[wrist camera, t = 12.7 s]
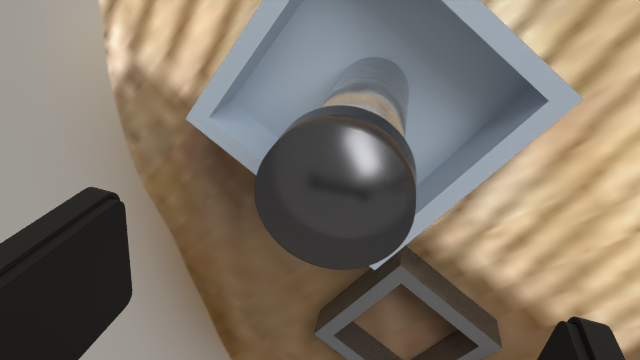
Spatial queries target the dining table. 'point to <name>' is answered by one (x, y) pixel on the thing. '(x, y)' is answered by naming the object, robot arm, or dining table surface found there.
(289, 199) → the black capped silver cylinder
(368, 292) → the socket collar
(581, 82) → the dining table surface
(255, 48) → the bin
